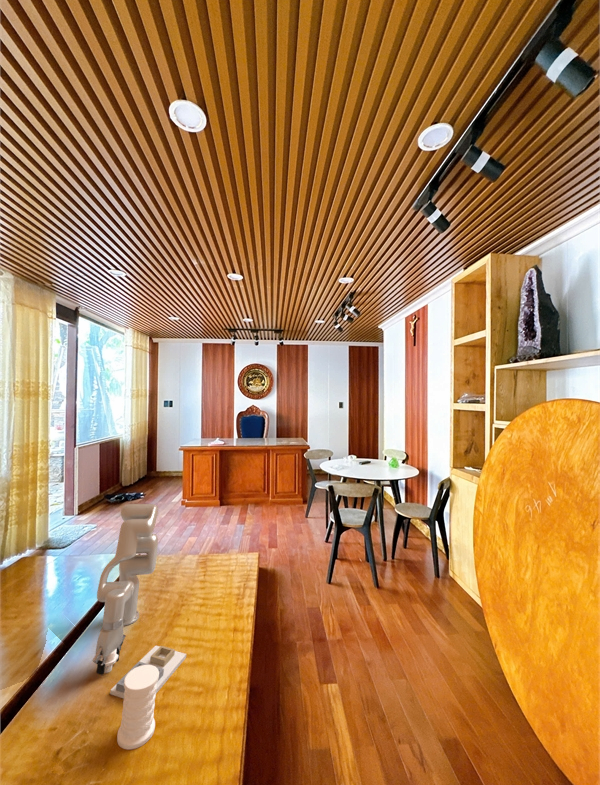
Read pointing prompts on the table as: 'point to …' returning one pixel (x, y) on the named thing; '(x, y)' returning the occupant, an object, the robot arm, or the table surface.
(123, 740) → the white carved column
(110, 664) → the pipe fitting
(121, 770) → the table surface
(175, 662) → the board
